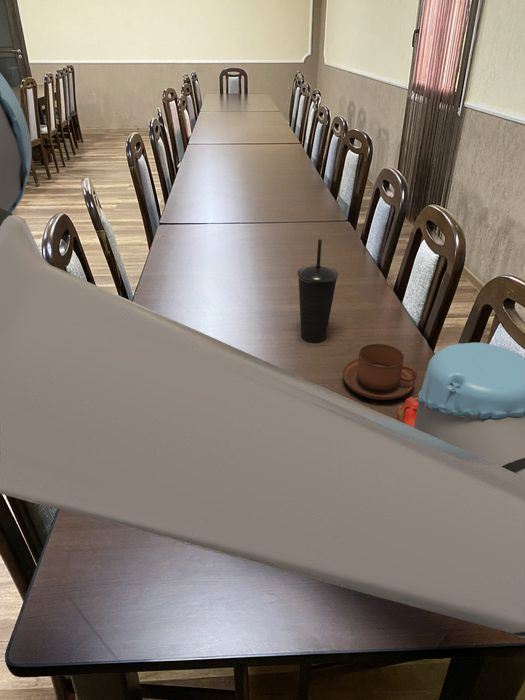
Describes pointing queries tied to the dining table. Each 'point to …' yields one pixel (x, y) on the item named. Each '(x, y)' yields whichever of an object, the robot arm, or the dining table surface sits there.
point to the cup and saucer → (380, 373)
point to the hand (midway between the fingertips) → (189, 366)
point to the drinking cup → (316, 298)
